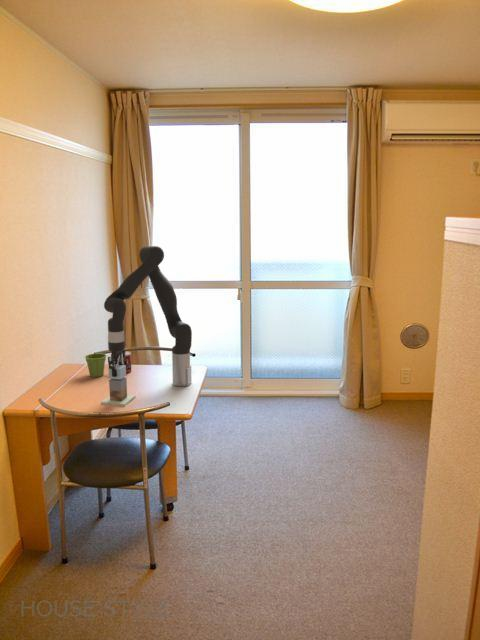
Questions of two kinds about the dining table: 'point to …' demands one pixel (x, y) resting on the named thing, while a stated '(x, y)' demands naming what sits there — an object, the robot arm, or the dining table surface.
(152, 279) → the robot arm
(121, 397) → the walnut block
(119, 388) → the grey block
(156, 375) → the dining table surface
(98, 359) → the plant pot
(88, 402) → the dining table surface
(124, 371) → the blue block
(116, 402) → the plate
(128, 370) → the canned food
